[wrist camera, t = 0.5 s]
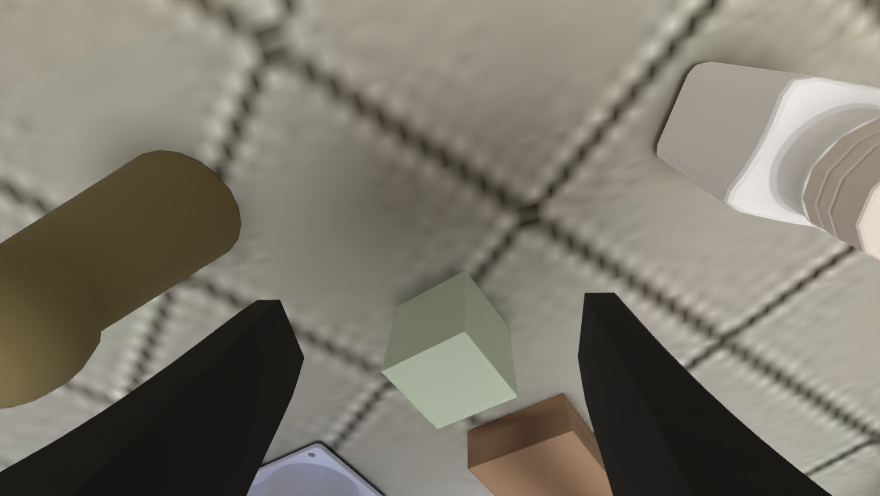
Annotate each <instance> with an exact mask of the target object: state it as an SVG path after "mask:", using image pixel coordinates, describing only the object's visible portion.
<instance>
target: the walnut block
mask: <svg viewBox="0 0 880 496" xmlns="http://www.w3.org/2000/svg"><path fill="white" fill-rule="evenodd" d="M468 470H469V471H470V472H471V473H472V474H473V475H474V476H475V477H476V478H477V479H478V480H479V481H480V482H481V483H482V484H483V485H485V486H486V487H487V488H488V489H489V490H490V491H491V492H492V493H493V494H494V495H495V496H613V494H612V491H611V487H610V484H609V481H608V477H607V474H606V470H605V467H604V463H603V460H602V457H601V453H600V450H599V446H598V443H597V440H596V436H595V435H594V434H593V432H592V431H591V430H590V428H589V427H588V426H587V424H586V423H585V422H584V421H583V419H582V418H581V417H580V415H579V414H578V413H577V411H576V410H575V409H574V407H573V406H572V405H571V403H570V402H569V401H568V399H567V398H566V397H565V395H564V394H563V393H562V394H559V395H557V396H554V397H552V398H549V399H547V400H544V401H542V402H539V403H537V404H534V405H532V406H529V407H527V408H524V409H522V410H519V411H517V412H514V413H512V414H509V415H506V416H504V417H501V418H499V419H496V420H494V421H491V422H489V423H486V424H484V425H481V426H479V427H476V428H474V429H471V430H469V431H468Z"/></svg>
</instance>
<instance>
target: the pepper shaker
mask: <svg viewBox="0 0 880 496" xmlns="http://www.w3.org/2000/svg"><path fill="white" fill-rule="evenodd" d="M240 227H241V221H240V214H239V208H238V206H237V204H236V201H235V199H234V197H233V195H232V193H231V191H230V190H229V188H228V187H227V186H226V185H225V184H224V182H223V181H222V180H221V179H220V178H219V176H218V175H217V174H216V173H214V172H213V171H212V170H210V169H209V168H208V167H206V166H205V165H204V164H202V163H201V162H200V161H198V160H195V159H193V158H190V157H188V156H186V155H183V154H181V153H177V152H169V151H161V150H159V151H154V152H150V153H145V154H142V155H140V156H138V157H137V158H135V159H134V160H132V161H130V162H129V163H127V164H126V165H124V166H123V167H121V168H119V169H118V170H116V171H115V172H113V173H111V174H110V175H108V176H107V177H105V178H104V179H102V180H100V181H99V182H97V183H96V184H94V185H92V186H91V187H89V188H88V189H86V190H85V191H83V192H81V193H80V194H78V195H77V196H75V197H73V198H72V199H70V200H69V201H67V202H66V203H64V204H62V205H61V206H59V207H58V208H56V209H54V210H53V211H51V212H50V213H48V214H47V215H45V216H43V217H42V218H40V219H39V220H37V221H35V222H34V223H32V224H31V225H29V226H28V227H26V228H24V229H23V230H21V231H20V232H18V233H16V234H15V235H13V236H12V237H10V238H9V239H7V240H5V241H4V242H2V243H1V244H0V409H2V408H11V407H15V406H18V405H22V404H25V403H29V402H32V401H35V400H37V399H39V398H40V397H42V396H44V395H46V394H48V393H50V392H52V391H53V390H55V389H57V388H59V387H60V386H62V385H64V384H66V383H67V382H68V381H69V380H71V379H72V378H73V377H74V376H75V375H76V374H77V373H78V372H79V371H80V370H82V368H83V367H84V366H85V364H86V363H87V361H88V360H89V358H90V357H91V355H92V354H93V352H94V351H95V349H96V347H97V346H98V344H99V343H100V337H101V331H103V330H104V329H106V328H107V327H109V326H111V325H112V324H114V323H115V322H117V321H118V320H120V319H122V318H123V317H125V316H126V315H128V314H130V313H131V312H133V311H134V310H136V309H138V308H139V307H141V306H142V305H144V304H146V303H147V302H149V301H150V300H152V299H153V298H155V297H157V296H158V295H160V294H161V293H163V292H165V291H166V290H168V289H169V288H171V287H173V286H174V285H176V284H177V283H179V282H181V281H182V280H184V279H185V278H187V277H189V276H190V275H192V274H193V273H195V272H196V271H198V270H200V269H201V268H203V267H204V266H206V265H208V264H209V263H211V262H212V261H214V260H216V259H217V258H219V257H220V256H222V255H224V254H225V253H227V252H228V251H230V249H231V248H232V247H233V245H234V244H235V243H236V241H237V240H238V236H239V232H240Z"/></svg>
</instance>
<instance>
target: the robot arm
mask: <svg viewBox="0 0 880 496" xmlns="http://www.w3.org/2000/svg"><path fill="white" fill-rule="evenodd" d="M303 360H304V356H303V353H302V351H301V349H300V346H299V344H298V341H297V339H296V337H295V334H294V332H293V330H292V327H291V325H290V322H289V320H288V318H287V315H286V313H285V311H284V308H283V306H282V303H281V301H280V300H257V301H255V302H254V303H252V304H251V305H249V306H248V307H246V308H245V309H243V310H242V311H241V312H239V313H238V314H237V315H235V316H234V317H232V318H231V319H230V320H228V321H227V322H226V323H224V324H223V325H222V326H220V327H219V328H218V329H216V330H215V331H214V332H213V333H211V334H210V335H209V336H207V337H206V338H205V339H203V340H202V341H201V342H199V343H198V344H197V345H195V346H194V347H193V348H191V349H190V350H189V351H187V352H186V353H185V354H183V355H182V356H181V357H179V358H178V359H177V360H175V361H174V362H173V363H171V364H170V365H169V366H167V367H166V368H164V369H163V370H161V371H160V372H159V373H157V374H156V375H154V376H153V377H152V378H150V379H149V380H147V381H146V382H145V383H143V384H142V385H140V386H139V387H137V388H136V389H135V390H133V391H132V392H130V393H129V394H128V395H126V396H125V397H123V398H122V399H120V400H119V401H117V402H116V403H114V404H113V405H111V406H110V407H108V408H107V409H105V410H104V411H102V412H101V413H99V414H98V415H96V416H95V417H93V418H91V419H90V420H88V421H87V422H85V423H83V424H82V425H80V426H78V427H77V428H75V429H74V430H72V431H70V432H69V433H67V434H66V435H64V436H62V437H61V438H59V439H57V440H56V441H54V442H52V443H51V444H49V445H47V446H45V447H44V448H42V449H40V450H38V451H37V452H35V453H33V454H31V455H29V456H28V457H26V458H24V459H22V460H21V461H19V462H17V463H15V464H13V465H12V466H10V467H8V468H6V469H5V470H3V471H1V472H0V496H382V495H381V494H380V493H379V492H378V491H377V490H375V489H374V488H373V487H372V486H371V485H369V484H368V483H367V482H366V481H365V480H364V479H362V478H361V477H360V476H359V475H358V474H356V473H355V472H354V471H353V470H352V469H351V468H349V467H348V466H347V465H346V464H345V463H343V462H342V461H341V460H340V459H339V458H338V457H336V456H335V455H334V454H333V453H332V452H330V451H329V450H328V449H327V448H326V447H325V446H323V445H322V444H318V443H316V444H313V445H311V446H308V447H306V448H304V449H302V450H299V451H297V452H295V453H293V454H290V455H288V456H286V457H284V458H281V459H279V460H277V461H275V462H272V463H270V464H268V465H265V466H263V467H261V468H260V465H261V463H262V461H263V459H264V457H265V455H266V453H267V450H268V448H269V446H270V444H271V442H272V440H273V438H274V435H275V433H276V431H277V429H278V427H279V425H280V422H281V420H282V418H283V416H284V414H285V411H286V409H287V407H288V405H289V403H290V400H291V398H292V396H293V393H294V390H295V387H296V384H297V381H298V377H299V374H300V370H301V367H302V364H303ZM578 361H579V367H580V373H581V379H582V385H583V390H584V396H585V401H586V405H587V408H588V412H589V415H590V419H591V422H592V426H593V429H594V433H595V436H596V440H597V443H598V446H599V450H600V453H601V457H602V460H603V463H604V467H605V470H606V474H607V477H608V481H609V484H610V487H611V491H612V494H613V496H832V495H831V494H829V493H828V492H826V491H825V490H824V489H823V488H821V487H820V486H819V485H817V484H816V483H815V482H814V481H812V480H811V479H810V478H808V477H807V476H806V475H805V474H803V473H802V472H801V471H799V470H798V469H797V468H796V467H794V466H793V465H792V464H791V463H790V462H788V461H787V460H786V459H785V458H783V457H782V456H781V455H780V454H779V453H777V452H776V451H775V450H774V449H772V448H771V447H770V446H769V445H768V444H766V443H765V442H764V441H763V440H762V439H760V438H759V437H758V436H757V435H756V434H755V433H753V432H752V431H751V430H750V429H749V428H748V427H747V426H745V425H744V424H743V423H742V422H741V421H740V420H739V419H738V418H736V417H735V416H734V415H733V414H732V413H731V412H730V411H729V410H728V409H726V408H725V407H724V406H723V405H722V404H721V403H720V402H719V401H718V400H717V399H716V398H715V397H714V396H712V395H711V394H710V393H709V392H708V391H707V390H706V389H705V388H704V387H703V386H702V385H701V384H700V383H699V382H698V381H697V380H696V379H695V378H694V377H693V376H692V375H691V374H690V373H689V372H688V371H687V370H686V369H685V368H684V367H683V366H682V365H681V364H680V363H679V362H678V361H677V360H676V359H675V358H674V357H673V356H672V355H671V354H670V353H669V352H668V351H667V350H666V349H665V348H664V347H663V346H662V345H661V344H660V343H659V341H658V340H657V339H656V338H655V337H654V336H653V335H652V334H651V333H650V332H649V331H648V330H647V328H646V327H645V326H644V325H643V324H642V323H641V322H640V321H639V320H638V318H637V317H636V316H635V315H634V314H633V313H632V312H631V311H630V309H629V308H628V307H627V306H626V305H625V304H624V303H623V301H622V300H621V299H620V298H619V297H618V296H617V295H616V294H615V293H585V296H584V305H583V315H582V324H581V334H580V343H579V353H578Z"/></svg>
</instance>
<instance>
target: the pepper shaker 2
mask: <svg viewBox="0 0 880 496" xmlns="http://www.w3.org/2000/svg"><path fill="white" fill-rule="evenodd" d="M657 157H659V158H660V159H661V160H663V161H664V162H665V163H667V164H668V165H670V166H671V167H673V168H674V169H676V170H677V171H679V172H680V173H681V174H683V175H684V176H686V177H687V178H689V179H690V180H692V181H693V182H695V183H696V184H698V185H699V186H700V187H702V188H703V189H705V190H706V191H708V192H709V193H711V194H712V195H714V196H715V197H717V198H718V199H719V200H721V201H722V202H724V203H725V204H727V205H728V206H730V207H731V208H733V209H734V210H736V211H739V212H743V213H747V214H751V215H755V216H759V217H764V218H768V219H773V220H778V221H782V222H788V223H794V224H800V225H806V226H814V227H816V228H818V229H819V230H822V231H825V232H828V233H830V234H832V235H833V236H835V237H837V238H839V239H840V240H842V241H844V242H846V243H848V244H849V245H851V246H853V247H855V248H856V249H858V250H860V251H862V252H863V253H865V254H867V255H869V256H871V257H873V258H875V259H877V260H879V261H880V88H876V87H871V86H866V85H861V84H855V83H850V82H845V81H840V80H834V79H829V78H824V77H818V76H813V75H805V74H798V73H791V72H783V71H776V70H769V69H762V68H754V67H747V66H740V65H732V64H725V63H718V62H706V63H702V64H697V65H696V66H694V67H693V68H692V70H691V71H690V72H689V74H688V75H687V77H686V79H685V82H684V84H683V86H682V89H681V91H680V93H679V96H678V98H677V100H676V103H675V105H674V107H673V109H672V112H671V114H670V116H669V119H668V121H667V123H666V126H665V128H664V130H663V133H662V135H661V137H660V140H659V142H658V144H657Z"/></svg>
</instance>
